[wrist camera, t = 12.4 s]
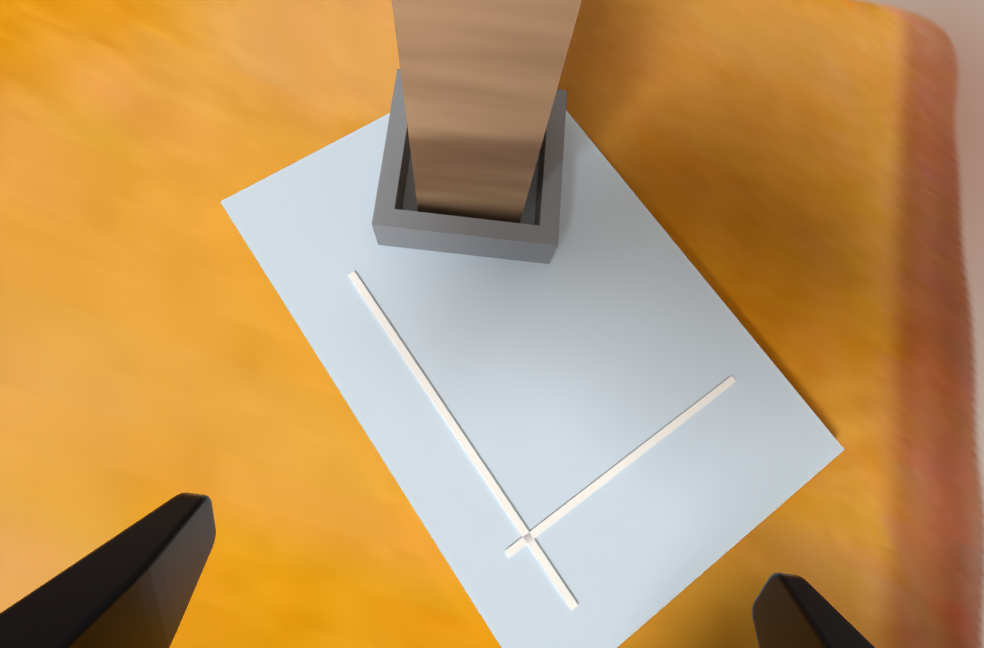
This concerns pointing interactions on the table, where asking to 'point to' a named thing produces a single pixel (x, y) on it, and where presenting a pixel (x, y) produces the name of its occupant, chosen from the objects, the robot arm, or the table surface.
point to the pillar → (479, 97)
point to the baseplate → (536, 378)
